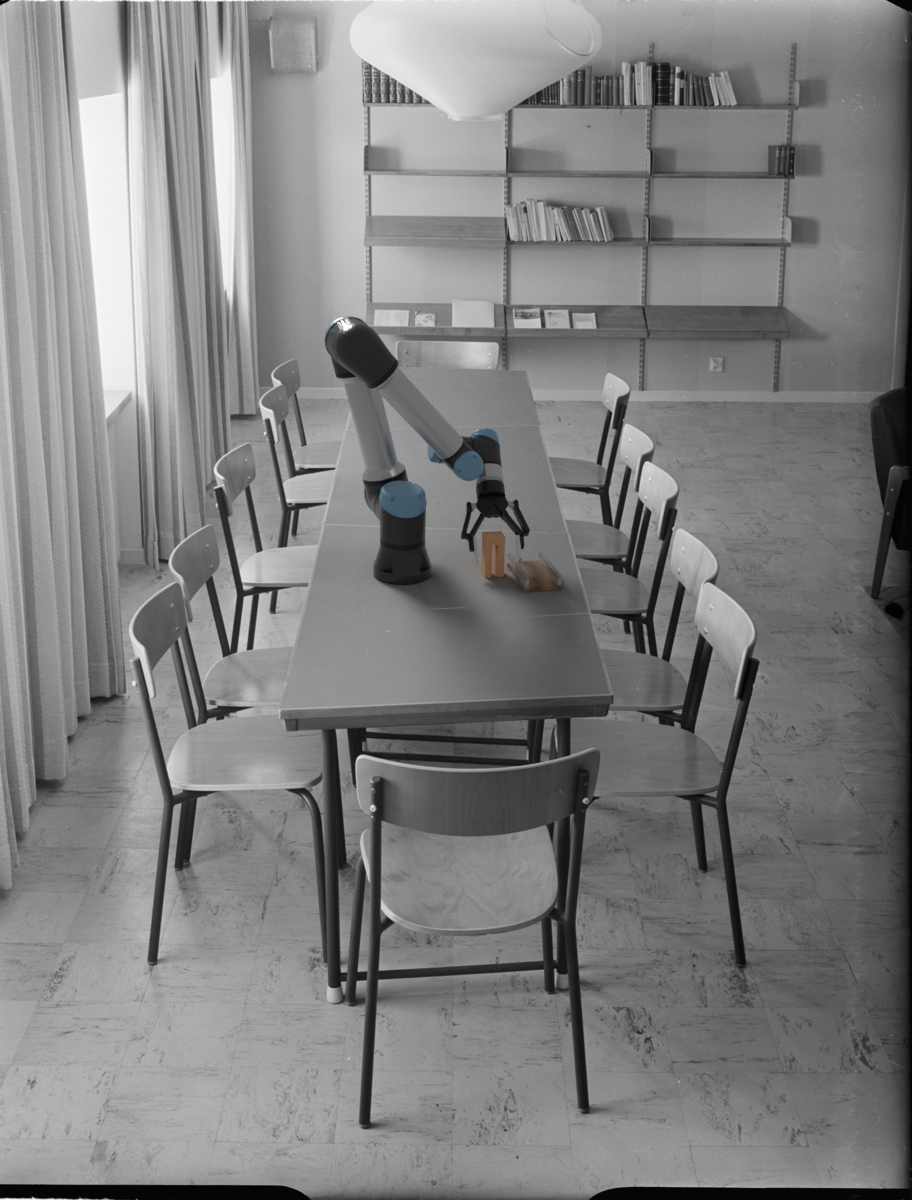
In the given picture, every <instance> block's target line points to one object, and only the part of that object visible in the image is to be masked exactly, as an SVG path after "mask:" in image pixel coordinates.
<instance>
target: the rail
mask: <svg viewBox="0 0 912 1200" xmlns="http://www.w3.org/2000/svg"><path fill="white" fill-rule="evenodd" d="M506 567H507V569H508V570H509V571H510V572H511V574H512V575H513V577H514V579H515V581H516V582H517V583H518V584H519V586H520V587H521V589H522V590H523V592H525V593H526V592H541V591H542V592H543V591H544V592H545V591H560V590H562V578H563V577H562V575H561V574H560V572H559V571H558V569H557V568H556V567H555V565H554V564H553V563H552V561H550V559H549V557H548V556H546V554H545V553H544V552H543V551H538V560H523V561H522V560H521V562H518V559H516V558H515V556H514V554H513V553H512V552H508V553H507V564H506Z"/></svg>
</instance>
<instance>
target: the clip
mask: <svg viewBox="0 0 912 1200" xmlns="http://www.w3.org/2000/svg"><path fill="white" fill-rule="evenodd" d="M481 535H482V536H481V558H480V559H481V563H480V564H481V565H480V572H481V574H482V575H483V577H484V579H486V578H487V579H488V578H492V576H493V573H494V575H495V577H496V576H497V577H496V578H504V576H505V574H504V573H505V554H506V549H505V547H506V536H505V534H504V532H502V531H501V530H499V531H498V530H495V531H482V534H481Z"/></svg>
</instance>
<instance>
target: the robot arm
mask: <svg viewBox="0 0 912 1200" xmlns="http://www.w3.org/2000/svg"><path fill="white" fill-rule="evenodd" d="M324 347H325V350H326V352H327V353H328V355H329V356H330V359H331V363H332V366H333V371H334V373H335V375H334V376H335V378H337V379H338V380H339V381H341V382H342V383H343V384H344V389H345V393H346V397H347V401H348V404H349V409H350V413H351V416H352V420H353V425H354V428H355V432H356V436H357V439H358V443H359V447H360V452H361V455H362V459H363V463H364V467H365V470H364V471H363V472H362V474H361V478H362V483H363V486H364V488H363V495H364V500H365V503H366V506H367V507H368V508H369V510H370V511H371V512H372V513H373V514H374V515H375V517H376V518H377V519H378V521H379V548H378V551H377V554H376V557H375V560H374V562H373V566H372V567H373V568H372V569H373V572H372V573H373V577H375V578H376V579H377V580H379V581H381V582H384V583H389V584H395V585H411V584H412V585H413V584H418V583H422V582H425V581H427V580H428V579H430V578H431V576H432V574H433V573H432V571H433V570H432V569H433V568H432V566H433V565H432V563H431V559H430V556H429V554H428V550H427V547H426V529H427V528H426V524H427V522H426V520H427V519H426V518H427V515H426V513H427V505H428V504H427V503H428V502H427V498H426V497H427V496H426V491H425V489H424V488H423V486H421V485H420V484H417V483H413V481H409V477H408V474H407V469H406V466H405V464H404V463H402V462H400V461H399V460H398V457H397V453H396V449H395V445H394V440H393V436H392V433H391V428H390V424H389V419H388V416H387V412H386V408H385V407H386V406H385V403H384V400H385V402H387V403H388V404H389V405H390V406H391V407H392V408H393V409H394V410H395V411H396V412H397V414H399V416H400V417H402V419H403V420H404V421H405V422H406V423H407V424H408V425H409V426H410V427H411V428H412V429H413V431H415V432H416V433H417V434H418V436H419V437H420V438H421V439H422V440H423V441H424V443H426V444H427V456H428V460H429V461H430V462H431V463H434V464H435V463H436V464H438V465H439V464H444V465H445V466H446V467H448V469H450V470H451V471H452V472H453V473H454V475H455V476H456V477H457V478H458V479H461V480H462V481H465V482H472V481H474V483H475V491H476V494H475V495H476V502H471V501H467V502H466V504H465V512H466V514H465V516H464V522H463V525H462V528H461V529H462V530H461V534H460V538H461V540H465V541H466V540H467V542H468V543H467V544H468V550H469V552H470V553H473V559H474V560H473V561H474V565H476V566H477V565H479V561H480V560H479V550H478V541H477V536H476V534H477V532H478V531H479V529H480V527H481V525H482V524H483V522H484V520H485V519H486V518H487V519H491V518H495V519H499V518H501V520H502V521H504V523H506V525H507V526H508V527H509V529H510V530H511V531H512V532H513V533H514V535H515V539H514V540H515V549H516V557H517V562H521V561H522V560H523V553H522V550H524V548H525V537H528V536H529V534H530V531H531V530H530V527H529V525H528V523H527V521H526V519H525V517H524V515H523V513H522V511H521V509H520V505H519V503H520V502H519V500H518V499H514V500H513V501H509V500H507V498H506V490H505V484H504V480H505V479H504V472H503V466H502V458H501V457H502V456H501V444H500V438H499V435H498V433H497V432H496V430H494V429H492V428H488V427H483V428H478V429H476V430H474V431H472V432H471V434H470V436H465V435H464V436H463V435H460V434H459V433H458V431H457V430H456V429H455V428H454V426H452V424H450V422H449V421H448V420H447V419H446V418H445V417H444V416H443V415H442V414H441V412H440V411H438V409H437V408H436V407H435V406H434V405H433V403H432V402H430V400H429V399H427V397H426V396H425V395H424V394H423V393H422V392H421V391H420V389H418V388H417V387H416V385H415V384H414V383H413V382H412V381H411V380H410V379H409V377H407V376H406V374H405V372H403V371H402V370H401V369H400V362H399V360H398V359H397V358H396V357H395V356H394V355H393V354H392V353H391V351H390V350H389V348H388V347H387V346H386V344H385V342H384V341H383V340H382V338H381V337H380V335H379V333H378V332H377V331H376V330H374V328H372V327H371V326H370V325H368V324H367V322H365V321H364V320H363V319H362V318H359V317H354V316H350V315H345V316H340V317H338V318H336V319H334V320H333V321H332V322H331V323H330V324H329V326H328V327H327V329H326V331H325V334H324ZM508 507H509V508H510V510H511V511H513V512H512V513H513V514H514V517H515V519H516V521H517V522H518V524H519V525H518V524H517V523H516V521H515V520H514V519H513V517H512V516H511V515H510V514H509V512H508V511H507V508H508ZM476 509H477V511H479V516H478V517H477V519H476V521H475V522H474V525H473V526H472V528H471V529H470V532H469V533H468V529H469V526H470V525H469V524H470V520H471V516H472V512H474V511H475V510H476ZM475 536H476V537H475Z"/></svg>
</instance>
